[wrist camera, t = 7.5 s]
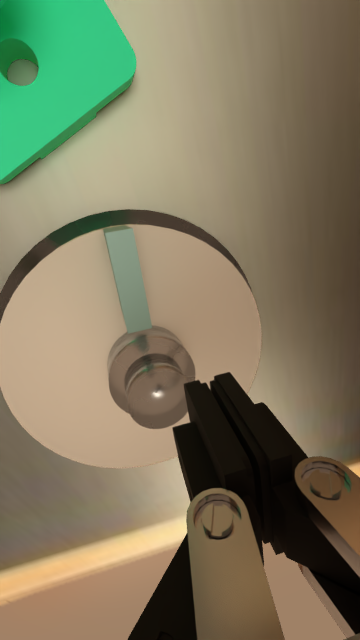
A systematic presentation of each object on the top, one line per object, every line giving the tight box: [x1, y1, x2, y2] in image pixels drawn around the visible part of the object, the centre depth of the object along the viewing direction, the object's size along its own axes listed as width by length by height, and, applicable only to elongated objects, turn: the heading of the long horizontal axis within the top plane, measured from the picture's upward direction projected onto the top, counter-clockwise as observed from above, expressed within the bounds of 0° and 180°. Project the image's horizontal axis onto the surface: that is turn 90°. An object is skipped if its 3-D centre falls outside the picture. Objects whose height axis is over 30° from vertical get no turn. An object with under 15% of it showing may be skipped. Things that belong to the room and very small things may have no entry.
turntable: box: [0, 224, 262, 468], centre depth 22 cm, size 20×20×7 cm
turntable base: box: [0, 210, 252, 323], centre depth 26 cm, size 22×22×1 cm
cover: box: [107, 325, 196, 429], centre depth 21 cm, size 6×6×5 cm
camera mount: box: [0, 0, 136, 184], centre depth 15 cm, size 12×8×10 cm, turn 127°
